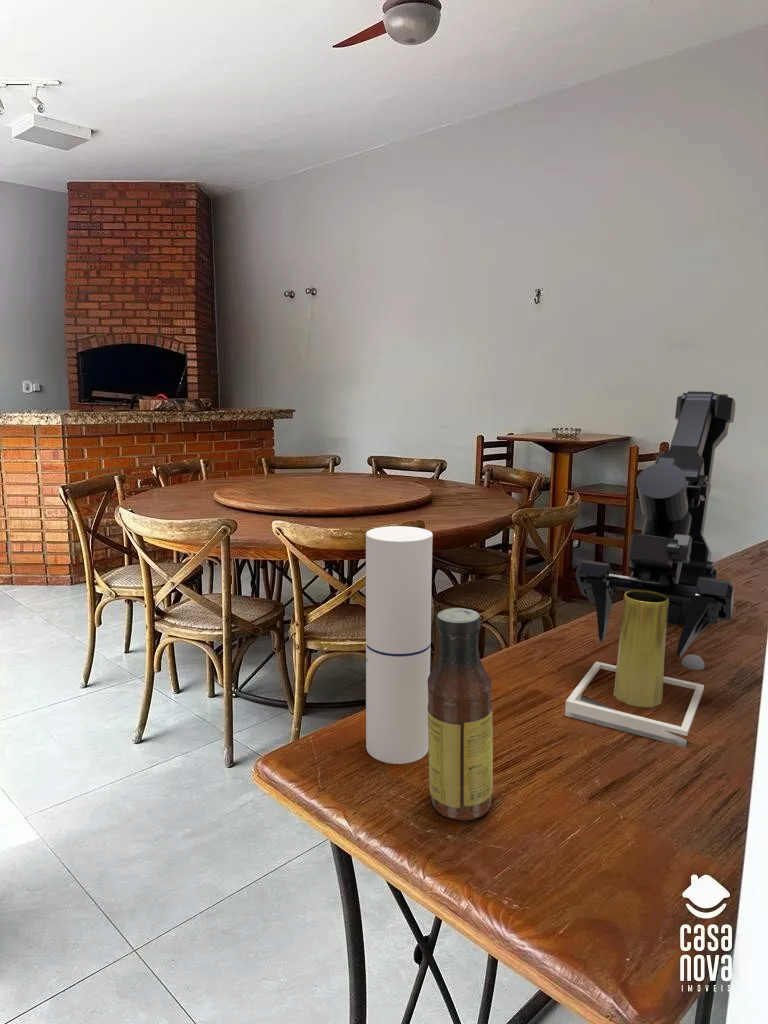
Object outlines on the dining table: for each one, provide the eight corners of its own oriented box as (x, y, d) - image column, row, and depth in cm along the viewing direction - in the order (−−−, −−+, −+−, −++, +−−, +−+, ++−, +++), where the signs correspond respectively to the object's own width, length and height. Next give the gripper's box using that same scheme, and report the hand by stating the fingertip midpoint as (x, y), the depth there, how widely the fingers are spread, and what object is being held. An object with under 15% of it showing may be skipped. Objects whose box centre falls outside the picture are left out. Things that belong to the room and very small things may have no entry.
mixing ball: (687, 668, 99) (689, 649, 99) (707, 675, 97) (709, 655, 96) (676, 674, 97) (678, 654, 97) (696, 681, 95) (698, 661, 95)
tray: (595, 674, 97) (596, 661, 97) (702, 699, 90) (704, 685, 90) (565, 715, 85) (565, 700, 85) (685, 747, 78) (687, 731, 78)
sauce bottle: (490, 787, 71) (497, 604, 67) (493, 826, 65) (501, 627, 61) (426, 783, 71) (429, 601, 67) (424, 822, 65) (427, 624, 61)
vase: (668, 715, 84) (679, 605, 82) (617, 712, 85) (626, 602, 82) (655, 692, 90) (665, 589, 87) (607, 690, 91) (615, 587, 88)
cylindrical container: (384, 770, 74) (385, 544, 69) (355, 739, 80) (354, 530, 75) (440, 753, 77) (445, 537, 72) (409, 725, 83) (411, 523, 78)
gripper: (583, 500, 91) (552, 603, 84) (741, 516, 81) (721, 634, 74) (595, 546, 99) (568, 643, 92) (740, 565, 89) (722, 675, 82)
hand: (638, 648), depth 85 cm, fingers open, 9 cm apart
